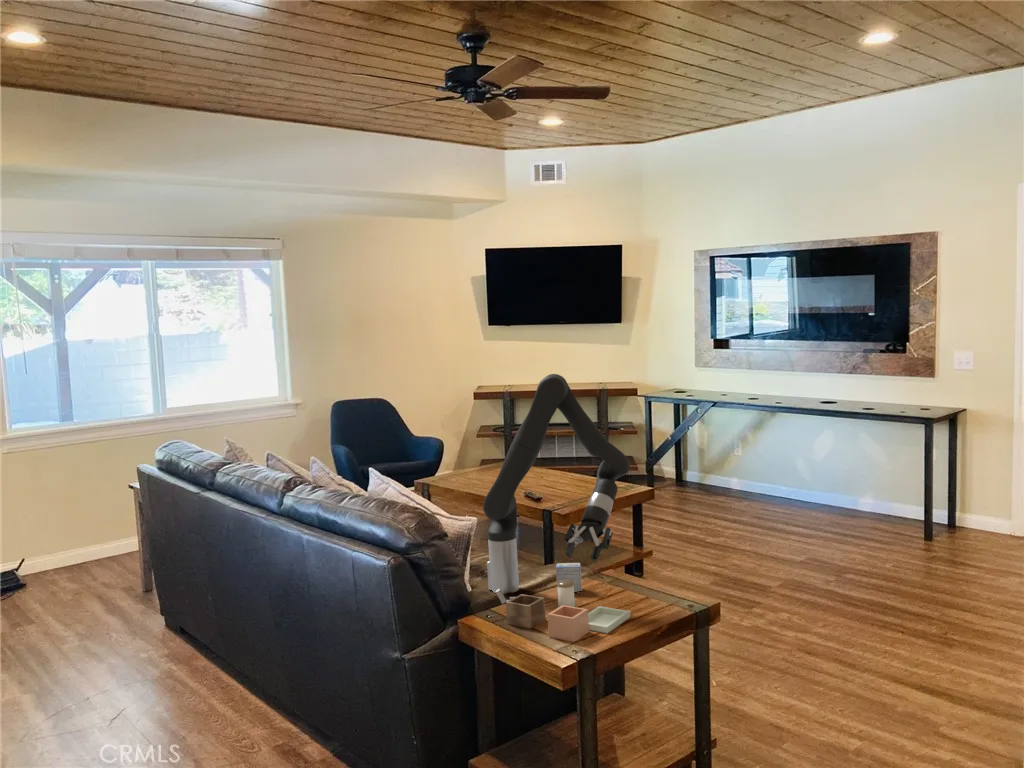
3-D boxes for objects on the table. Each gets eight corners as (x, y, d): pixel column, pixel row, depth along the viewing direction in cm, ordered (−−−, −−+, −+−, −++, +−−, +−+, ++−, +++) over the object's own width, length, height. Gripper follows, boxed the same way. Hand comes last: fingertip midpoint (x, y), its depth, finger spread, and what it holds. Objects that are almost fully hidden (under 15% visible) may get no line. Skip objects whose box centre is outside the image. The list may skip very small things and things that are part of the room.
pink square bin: (548, 639, 207) (547, 614, 206) (564, 629, 213) (562, 605, 213) (574, 644, 202) (573, 618, 202) (589, 634, 209) (588, 609, 208)
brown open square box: (507, 626, 218) (505, 602, 218) (522, 617, 225) (521, 594, 224) (530, 631, 214) (529, 606, 213) (545, 621, 220) (544, 597, 220)
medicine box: (582, 588, 249) (580, 562, 248) (581, 593, 244) (580, 566, 244) (557, 589, 249) (556, 563, 249) (557, 593, 245) (555, 566, 245)
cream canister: (555, 617, 224) (553, 583, 223) (564, 611, 228) (562, 578, 227) (570, 619, 221) (568, 585, 220) (579, 614, 225) (577, 580, 224)
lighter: (521, 613, 228) (519, 587, 228) (520, 615, 227) (519, 589, 226) (497, 614, 229) (495, 588, 228) (497, 616, 227) (495, 590, 227)
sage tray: (575, 630, 212) (574, 621, 212) (599, 614, 224) (599, 606, 224) (607, 636, 206) (606, 627, 206) (630, 619, 218) (630, 611, 218)
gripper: (572, 502, 235) (554, 548, 226) (613, 506, 227) (596, 553, 218) (582, 516, 240) (565, 561, 231) (623, 519, 231) (606, 567, 222)
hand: (580, 557), depth 224 cm, fingers open, 8 cm apart
